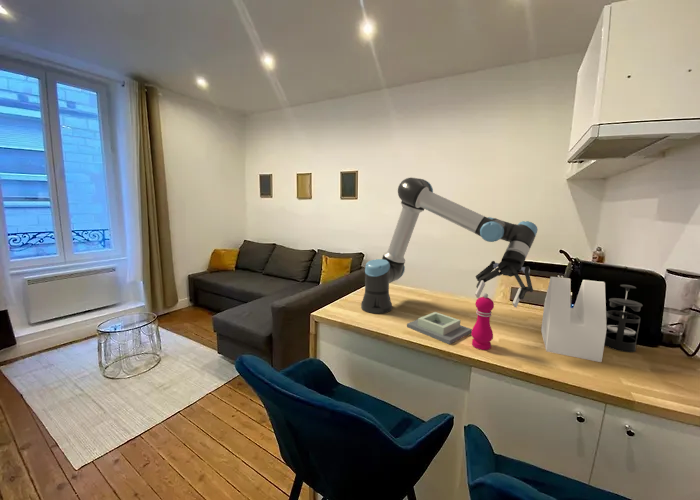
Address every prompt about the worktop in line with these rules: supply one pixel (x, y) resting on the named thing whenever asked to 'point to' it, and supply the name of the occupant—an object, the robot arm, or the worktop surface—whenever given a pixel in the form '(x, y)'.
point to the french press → (622, 324)
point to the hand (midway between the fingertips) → (494, 300)
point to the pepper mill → (483, 323)
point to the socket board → (440, 327)
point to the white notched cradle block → (575, 319)
